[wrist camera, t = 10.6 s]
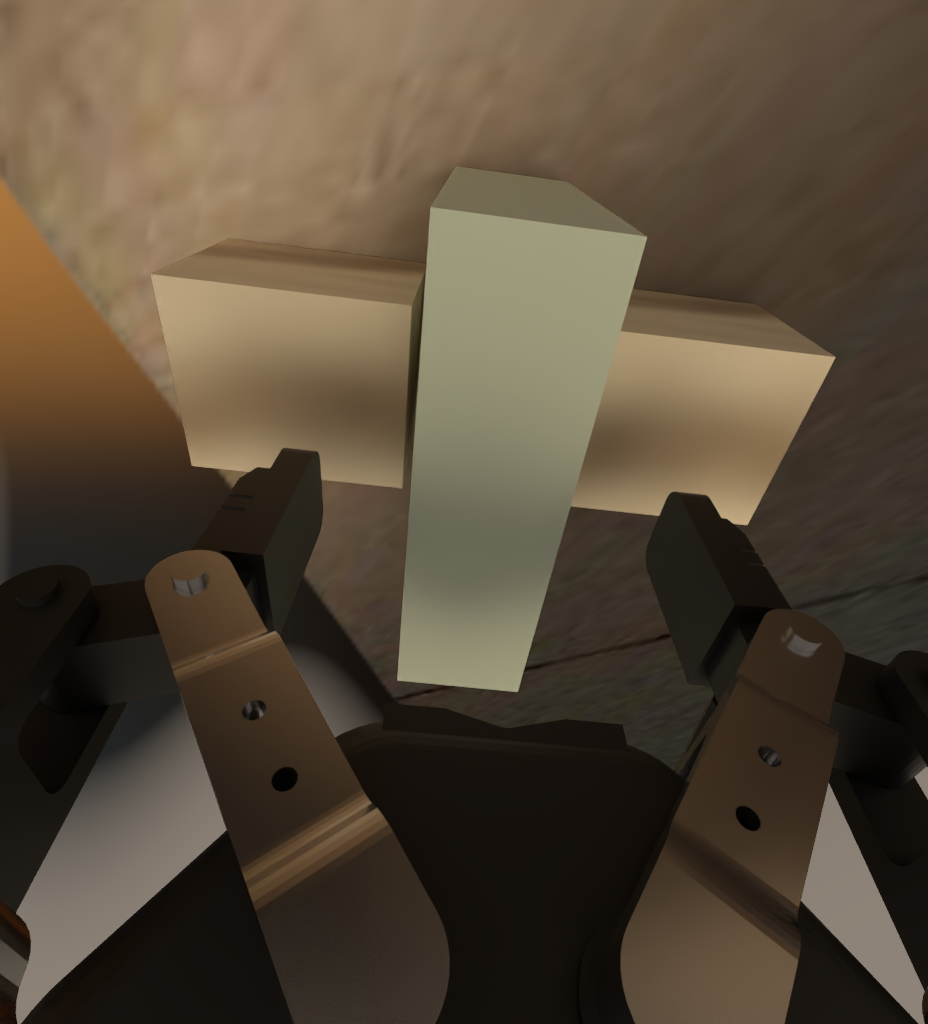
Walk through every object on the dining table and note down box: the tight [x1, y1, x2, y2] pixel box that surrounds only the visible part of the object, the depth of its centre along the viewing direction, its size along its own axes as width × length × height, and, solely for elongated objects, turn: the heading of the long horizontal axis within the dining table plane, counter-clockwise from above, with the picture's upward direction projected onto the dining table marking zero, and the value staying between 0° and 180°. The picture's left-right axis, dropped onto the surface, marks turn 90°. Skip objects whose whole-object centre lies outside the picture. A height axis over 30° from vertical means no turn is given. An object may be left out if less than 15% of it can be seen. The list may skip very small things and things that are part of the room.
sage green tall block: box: [397, 166, 647, 692], centre depth 16 cm, size 12×4×10 cm, turn 173°
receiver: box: [151, 239, 836, 525], centre depth 19 cm, size 6×19×6 cm, turn 84°
